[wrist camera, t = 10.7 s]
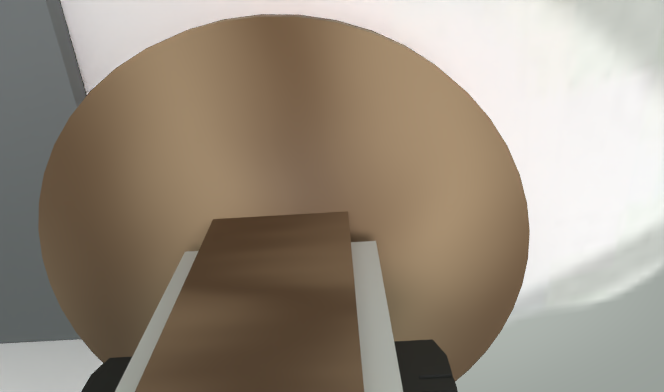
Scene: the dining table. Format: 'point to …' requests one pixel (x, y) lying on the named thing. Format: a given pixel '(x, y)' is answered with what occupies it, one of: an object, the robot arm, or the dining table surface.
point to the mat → (31, 159)
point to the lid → (280, 206)
